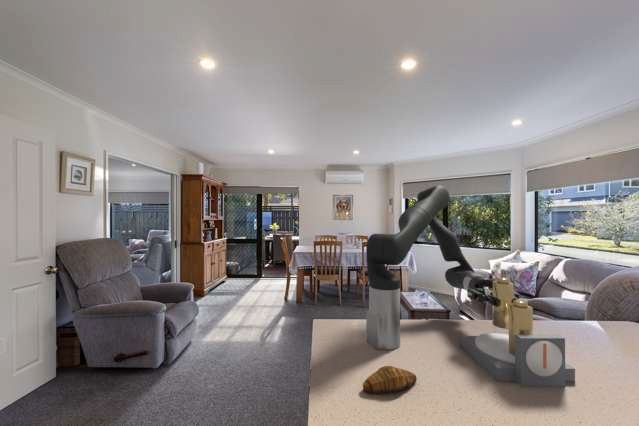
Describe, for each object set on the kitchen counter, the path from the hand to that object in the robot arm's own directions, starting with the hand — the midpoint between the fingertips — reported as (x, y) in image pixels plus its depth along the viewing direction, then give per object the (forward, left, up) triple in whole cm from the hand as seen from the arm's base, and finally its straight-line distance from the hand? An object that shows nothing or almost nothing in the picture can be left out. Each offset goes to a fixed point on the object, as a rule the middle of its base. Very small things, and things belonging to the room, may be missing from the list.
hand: (508, 303), depth 78 cm
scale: (-1, -3, -15) cm, 15 cm away
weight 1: (+1, +2, -7) cm, 7 cm away
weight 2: (-3, -5, -11) cm, 12 cm away
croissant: (-37, +3, -15) cm, 41 cm away
